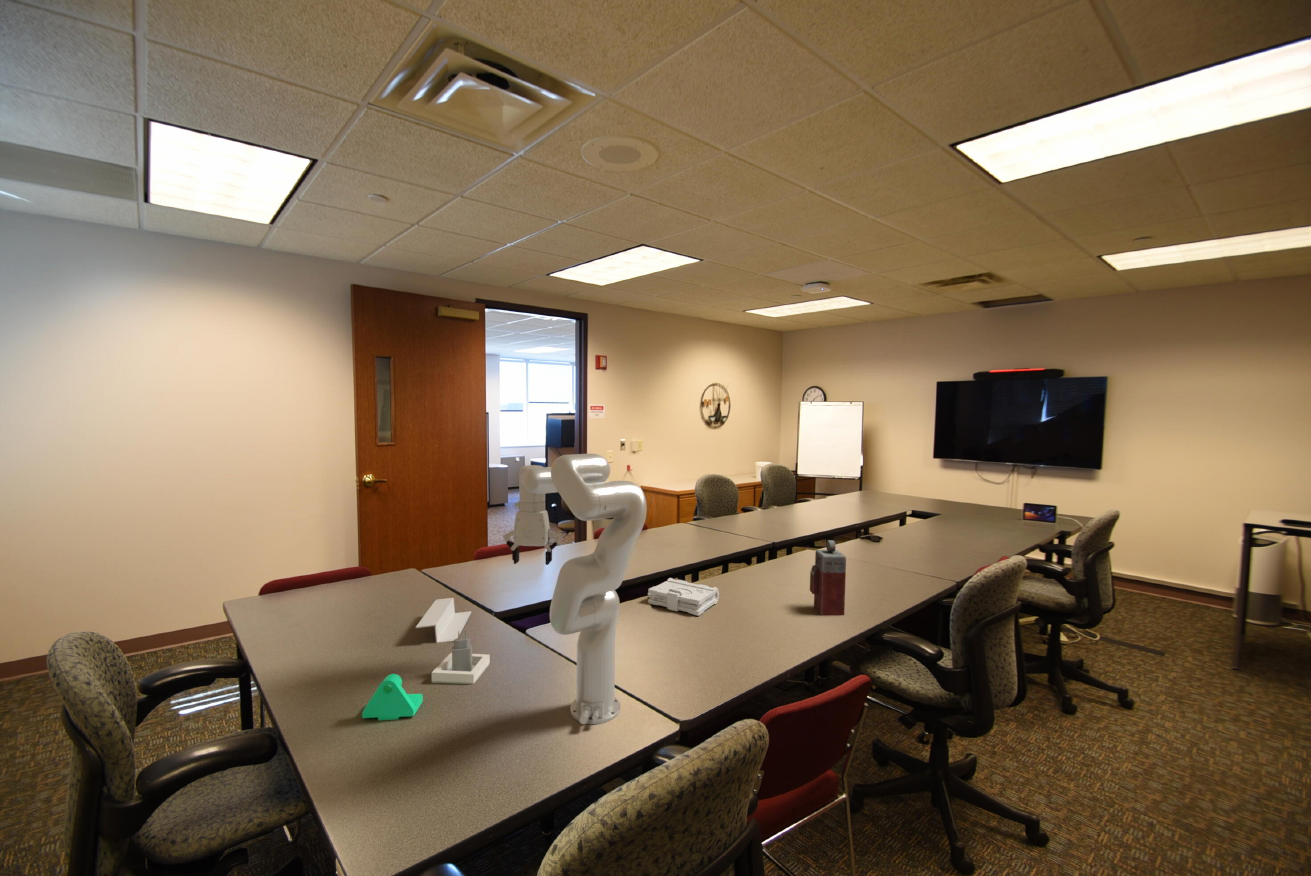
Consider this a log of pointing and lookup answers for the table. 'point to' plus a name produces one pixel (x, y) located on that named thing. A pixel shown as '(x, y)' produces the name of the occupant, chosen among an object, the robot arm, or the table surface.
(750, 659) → the table surface
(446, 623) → the z bracket
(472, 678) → the tray
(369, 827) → the table surface
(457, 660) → the power adapter
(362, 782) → the table surface
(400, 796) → the table surface
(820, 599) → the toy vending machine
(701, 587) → the book
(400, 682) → the camera mount
